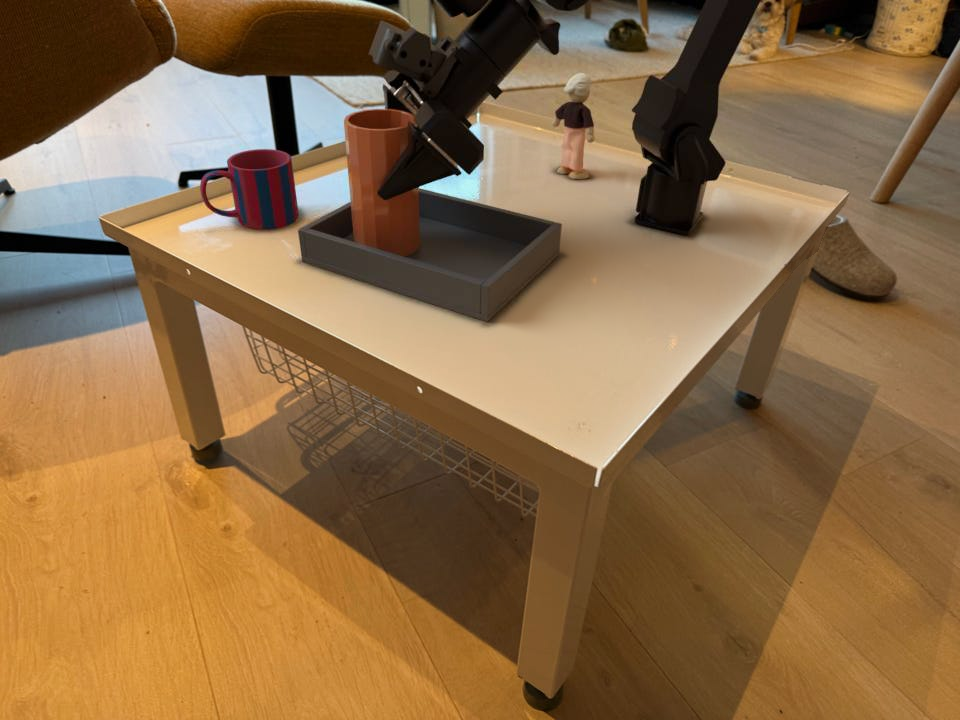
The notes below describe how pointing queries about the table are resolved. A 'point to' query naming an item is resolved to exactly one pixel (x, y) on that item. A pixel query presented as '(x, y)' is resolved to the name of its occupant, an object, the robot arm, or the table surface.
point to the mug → (259, 189)
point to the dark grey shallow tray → (443, 254)
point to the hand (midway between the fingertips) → (372, 179)
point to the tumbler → (380, 181)
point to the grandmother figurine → (575, 126)
